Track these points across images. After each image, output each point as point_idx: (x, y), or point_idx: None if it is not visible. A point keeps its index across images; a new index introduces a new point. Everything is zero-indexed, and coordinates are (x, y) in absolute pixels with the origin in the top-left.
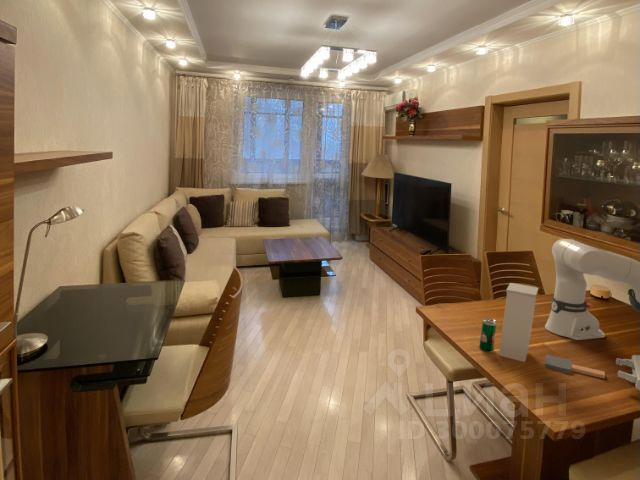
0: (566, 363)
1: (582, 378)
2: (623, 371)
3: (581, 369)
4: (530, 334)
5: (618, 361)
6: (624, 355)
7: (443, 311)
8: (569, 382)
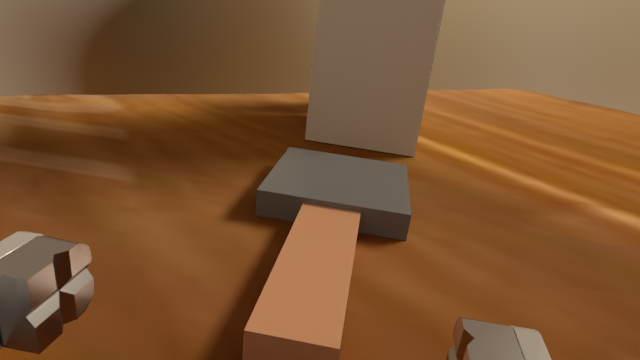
0: (341, 192)
1: (205, 243)
2: (30, 266)
3: (298, 231)
4: (432, 62)
5: (457, 344)
6: None
7: (555, 103)
8: (138, 192)
